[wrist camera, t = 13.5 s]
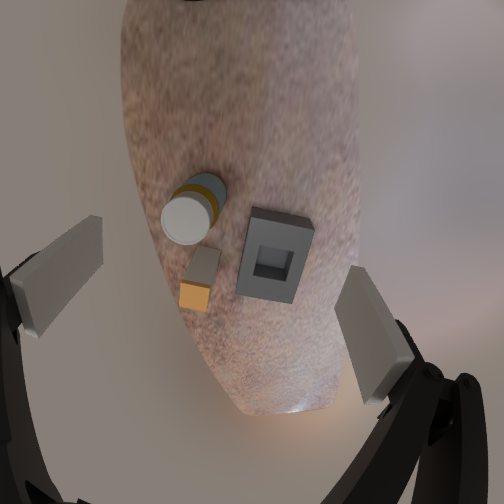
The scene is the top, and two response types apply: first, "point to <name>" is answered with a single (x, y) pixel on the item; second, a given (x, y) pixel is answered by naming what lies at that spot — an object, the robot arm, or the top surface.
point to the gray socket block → (274, 255)
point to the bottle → (194, 209)
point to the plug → (199, 279)
